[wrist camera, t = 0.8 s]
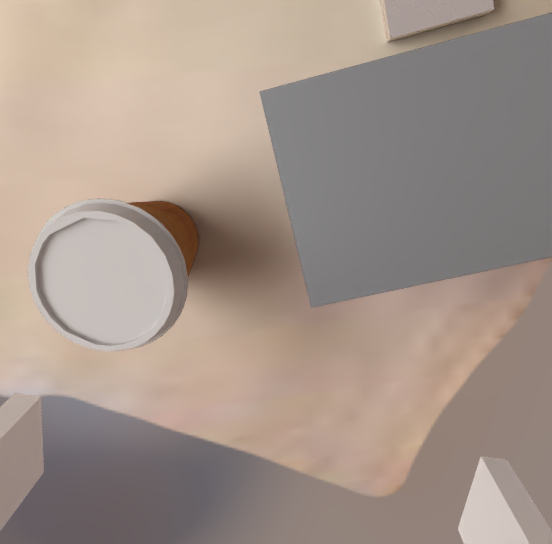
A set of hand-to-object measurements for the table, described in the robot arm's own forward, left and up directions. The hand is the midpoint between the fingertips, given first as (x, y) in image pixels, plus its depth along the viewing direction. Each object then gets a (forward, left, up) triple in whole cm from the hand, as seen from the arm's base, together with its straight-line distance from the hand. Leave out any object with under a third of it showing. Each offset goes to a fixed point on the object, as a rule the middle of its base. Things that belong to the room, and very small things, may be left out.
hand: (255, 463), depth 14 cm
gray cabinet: (-7, +13, -25) cm, 29 cm away
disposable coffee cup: (-4, -10, -25) cm, 27 cm away
